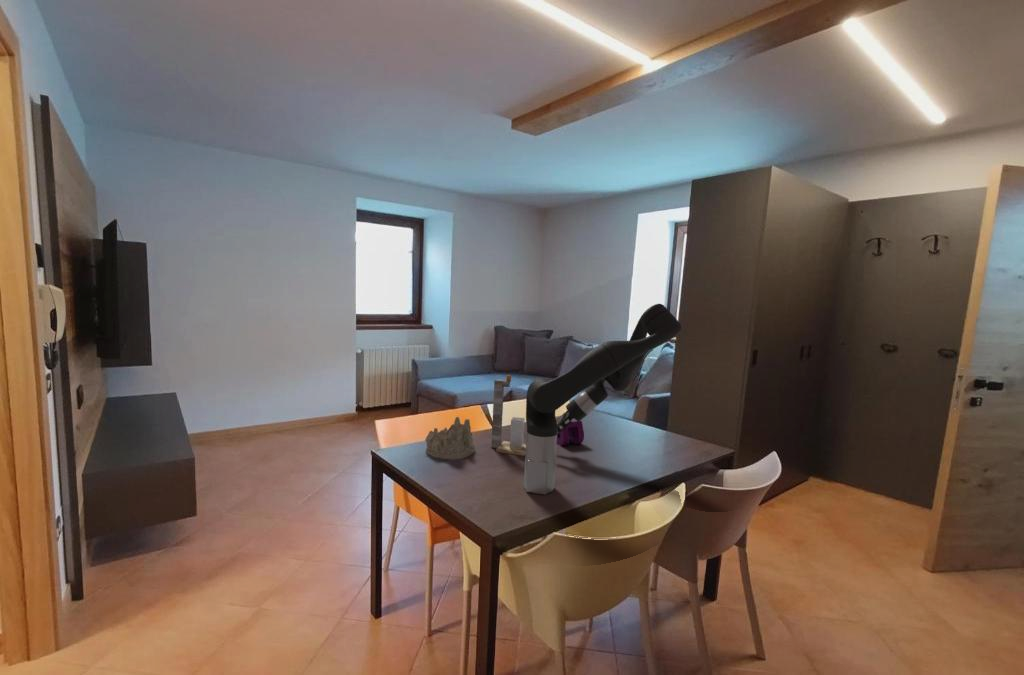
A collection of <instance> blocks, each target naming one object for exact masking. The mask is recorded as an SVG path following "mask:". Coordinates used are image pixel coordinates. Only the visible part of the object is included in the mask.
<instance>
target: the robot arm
mask: <svg viewBox="0 0 1024 675" xmlns="http://www.w3.org/2000/svg"><path fill="white" fill-rule="evenodd" d="M681 330H682V324H681V323H680V321H679V320H678V319H677V317H676V316H674V314H672V313H671V311H670V310H669V309H668V308H667V307H666V306H665V305H664V304H662V303H656V304H653V305H651V306H649V307H648V308H647V309H646V310H644V312H643V313H642V315H641V316H640V318H639V320H638V321H637V324H636V325H635V328H634V330H633V331H632V335H631V336H630V339H629V340H609V341H603V343H601V344H599V345H597V346H596V347H594V348H592V349H591V350H590V351H588V352H586V353H585V354H584V355H583V356H582V357H580V359H579V360H578V361H577V362H576V363H575V365H573V366H572V367H571V368H570V369H569V370H568V371H566V372H564V373H562V374H561V375H559V376H558V377H555V378H554V379H551V380H550V379H547V378H542V377H541V378H536V379H534V380H533V381H532V382H531V383H530V384H529V385H528V387H527V391H526V397H525V398H526V401H525V402H526V403H525V422H526V434H525V435H526V438H525V439H526V441H525V444H526V453H525V455H524V457H525V458H524V473H523V474H524V476H523V477H524V478H523V479H524V480H523V488H524V490H525V492H526V493H532V494H533V493H534V494H540V495H548V494H549V493H551V492H553V491H554V489H555V476H556V474H555V473H556V458H557V445H558V444H557V433H560V432H561V431H562V430H563V429H565V428H566V427H567V426H568V425H569V424H571V422H572V421H573V420H575V421H582V420H583V419H585V418H586V417H587V416H588V415H589V414H591V412H593V411H594V410H595V409H596V407H597V406H598V405H600V404H601V403H603V401H604V400H606V399H607V398H608V397H609V393H608V391H607V389H606V386H605V383H606V382H607V383H608V384H609V385H610V387H611V388H612V389H613V390H614V391H616V392H623V391H624V390H627V388H628V387H629V385H630V384H631V382H632V379H633V375H634V372H635V371H636V369H637V368H638V367H639V365H640V364H641V363H642V361H643V359H644V357H645V354H646V353H647V352H650V351H652V350H655V349H656V348H658V347H660V346H662V345H663V344H666V343H668V342H670V340H672V339H674V338H675V337H676V336H677V335H678V334H679V333H681ZM571 399H572V400H571ZM568 401H569V402H568ZM566 403H567V404H566ZM565 404H566V405H565ZM564 405H565V408H566V411H565V412H564V413H562V414H561V415H559V417H557V418H556V411H557V410H558V409H560V408H561V407H563V406H564ZM558 426H559V427H560V428H559V427H558Z"/></svg>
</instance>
